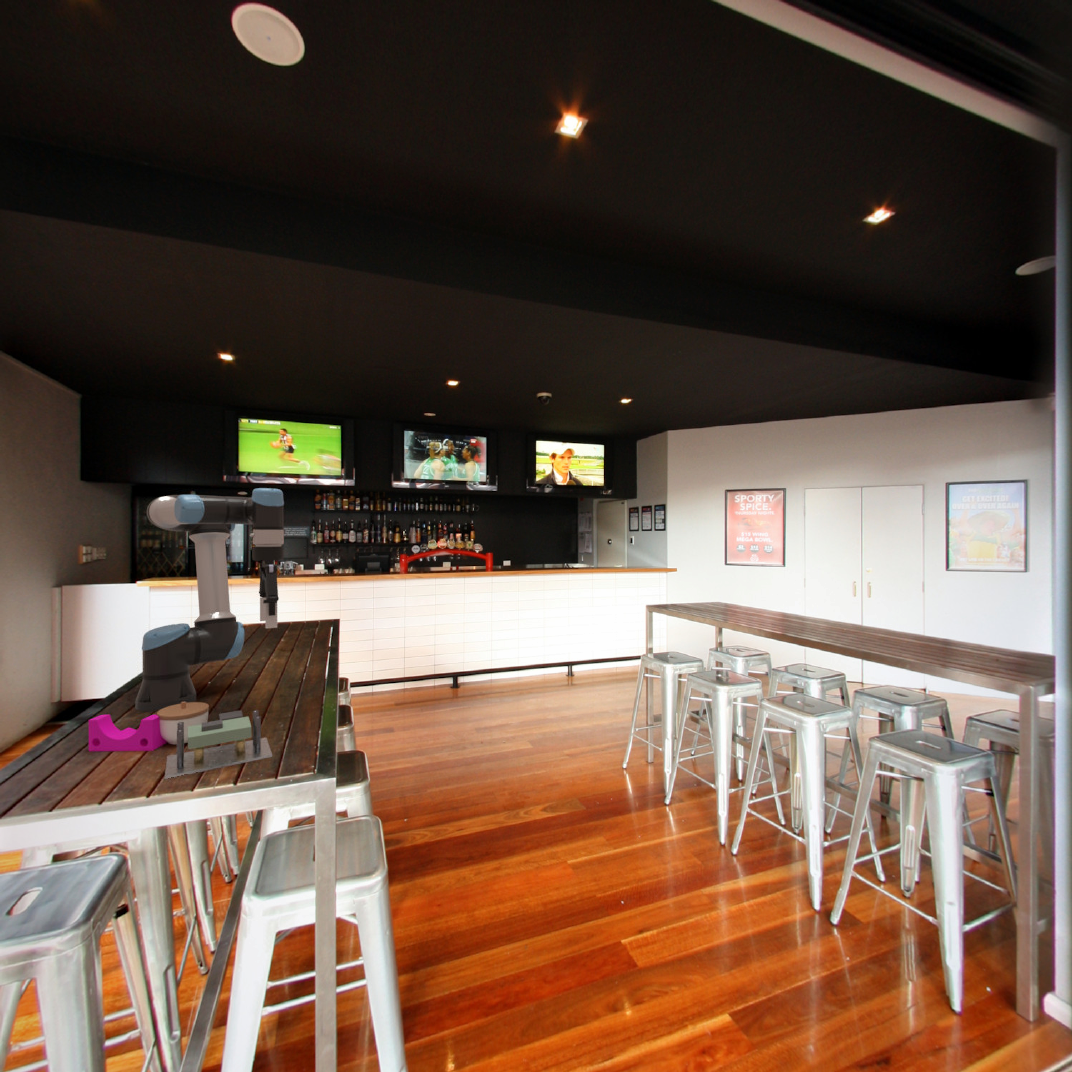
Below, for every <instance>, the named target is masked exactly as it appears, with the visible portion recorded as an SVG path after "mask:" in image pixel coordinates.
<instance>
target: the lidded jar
mask: <svg viewBox="0 0 1072 1072" xmlns="http://www.w3.org/2000/svg"><path fill="white" fill-rule="evenodd" d="M209 710H210V705H209V704H208V703H207V702H201V701H200V702H199V701H198V702H197V701H194V702H189V703H186V702H181V704H176V705H172V706H168V707H165V708H163V709H161V710H159V711H156V715H157V716H159V719H160V732H161V736H162V737H163V739H164V740H166V741H168V742H167V743H168V744H170V745H177V723H179V722H184V744H188V726H194V725H200V724H202V723H205V722H209V721H208V719H209Z"/></svg>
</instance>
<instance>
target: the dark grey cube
mask: <svg viewBox="0 0 1072 1072" xmlns="http://www.w3.org/2000/svg"><path fill="white" fill-rule="evenodd" d="M242 711H243V710H234V711H228V712H223V713H219V714H218V715H219V719H218V720H222V721H224V720H230V719H236V718H242V717H244V715H243V712H242Z"/></svg>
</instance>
